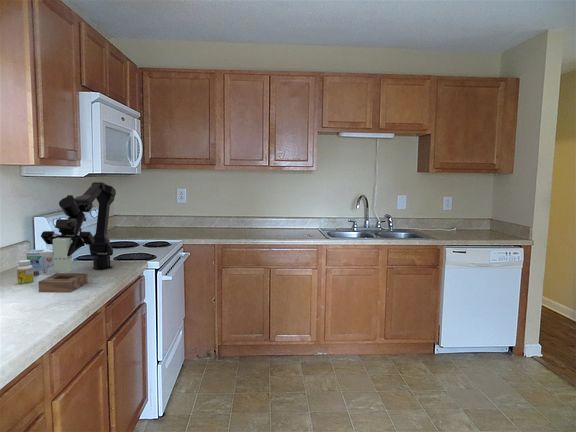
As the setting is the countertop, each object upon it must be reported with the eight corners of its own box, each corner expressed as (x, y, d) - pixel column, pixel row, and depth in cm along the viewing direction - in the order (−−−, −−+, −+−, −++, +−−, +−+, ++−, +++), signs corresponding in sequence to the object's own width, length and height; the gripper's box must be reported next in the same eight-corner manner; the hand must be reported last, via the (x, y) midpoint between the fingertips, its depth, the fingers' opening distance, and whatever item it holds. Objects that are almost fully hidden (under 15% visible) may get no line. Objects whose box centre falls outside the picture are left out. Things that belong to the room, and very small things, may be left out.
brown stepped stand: (57, 281, 169) (57, 270, 169) (96, 282, 170) (96, 271, 169) (27, 296, 150) (27, 284, 149) (72, 296, 150) (71, 284, 149)
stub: (59, 268, 161) (58, 237, 159) (73, 268, 161) (71, 237, 159) (54, 271, 157) (52, 239, 155) (67, 271, 157) (66, 239, 155)
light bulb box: (26, 277, 176) (25, 252, 175) (32, 273, 183) (30, 249, 181) (54, 275, 179) (53, 251, 178) (58, 272, 185) (57, 248, 184)
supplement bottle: (36, 283, 166) (35, 260, 165) (22, 286, 162) (21, 262, 161) (28, 281, 169) (27, 258, 168) (15, 284, 164) (13, 261, 163)
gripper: (42, 210, 160) (26, 243, 150) (90, 211, 160) (77, 244, 151) (54, 227, 169) (39, 260, 159) (99, 228, 169) (88, 260, 159)
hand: (60, 255), depth 157 cm, fingers closed on stub, 5 cm apart
